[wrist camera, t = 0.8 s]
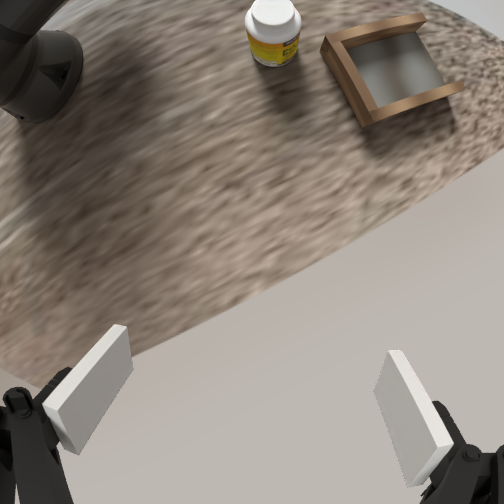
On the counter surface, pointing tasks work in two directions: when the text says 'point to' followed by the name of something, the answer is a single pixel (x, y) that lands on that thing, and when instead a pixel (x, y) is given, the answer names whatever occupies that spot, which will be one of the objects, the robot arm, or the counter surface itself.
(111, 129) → the counter surface
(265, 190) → the counter surface
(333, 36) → the walnut u rest
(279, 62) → the supplement bottle
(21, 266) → the counter surface
